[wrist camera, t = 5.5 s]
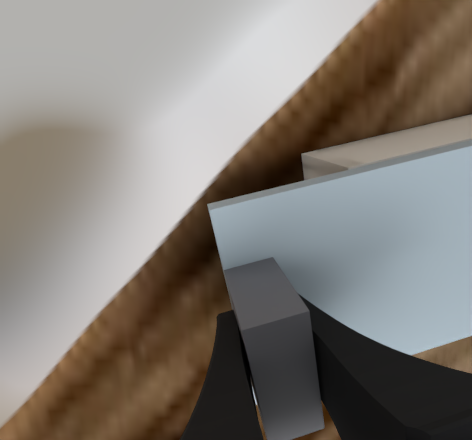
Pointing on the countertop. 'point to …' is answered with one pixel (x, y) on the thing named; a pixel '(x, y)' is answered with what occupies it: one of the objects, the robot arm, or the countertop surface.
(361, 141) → the carton
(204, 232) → the countertop surface
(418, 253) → the carton lid
